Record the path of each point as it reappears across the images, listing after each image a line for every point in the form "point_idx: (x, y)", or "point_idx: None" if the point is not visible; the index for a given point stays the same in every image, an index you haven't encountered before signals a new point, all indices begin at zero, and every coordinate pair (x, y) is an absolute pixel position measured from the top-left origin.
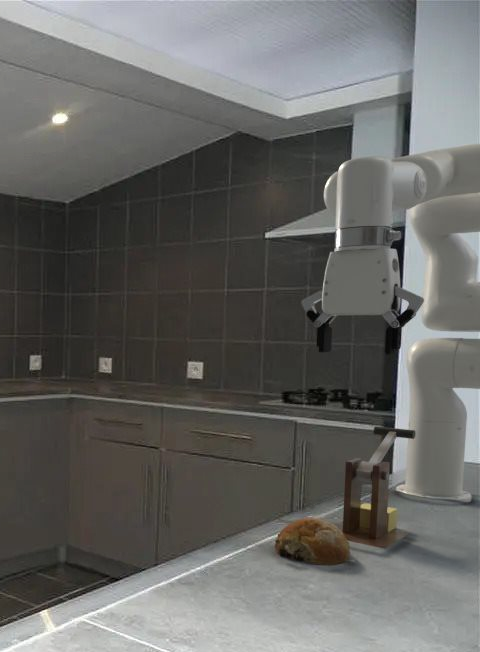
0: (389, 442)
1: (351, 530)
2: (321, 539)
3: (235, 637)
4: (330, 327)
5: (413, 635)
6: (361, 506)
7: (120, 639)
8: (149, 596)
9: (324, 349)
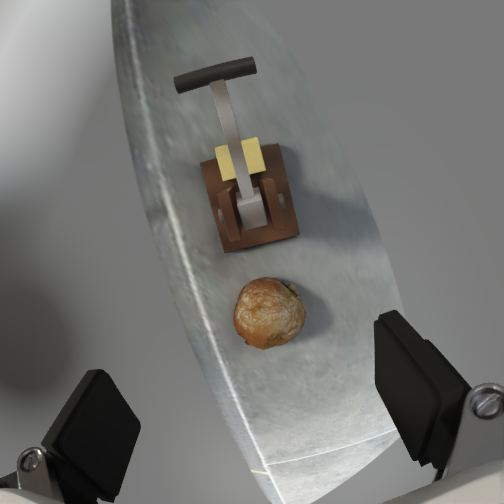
0: (234, 119)
1: None
2: (292, 338)
3: (326, 432)
4: (58, 451)
5: None
6: (224, 171)
7: (294, 462)
8: (260, 437)
9: (135, 424)
